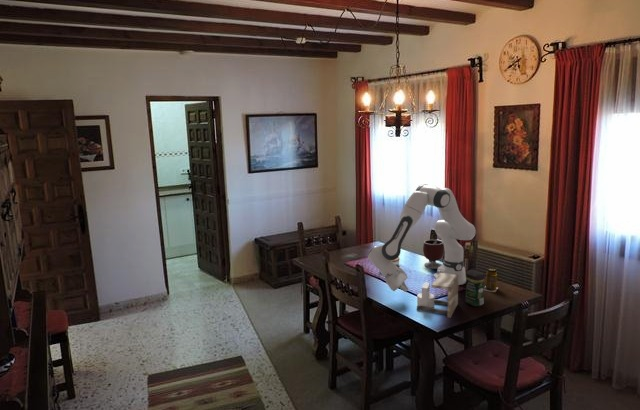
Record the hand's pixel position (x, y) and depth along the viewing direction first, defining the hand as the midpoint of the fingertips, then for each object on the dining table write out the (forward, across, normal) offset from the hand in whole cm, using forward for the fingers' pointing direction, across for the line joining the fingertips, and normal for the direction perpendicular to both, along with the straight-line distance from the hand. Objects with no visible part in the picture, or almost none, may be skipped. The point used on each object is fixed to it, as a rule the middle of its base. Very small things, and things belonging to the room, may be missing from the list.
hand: (406, 290), depth 244 cm
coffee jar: (+29, +14, -19) cm, 37 cm away
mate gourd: (+4, +70, +6) cm, 71 cm away
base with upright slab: (+13, 0, -2) cm, 13 cm away
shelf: (+17, 0, -7) cm, 18 cm away
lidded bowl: (-14, +50, +24) cm, 57 cm away
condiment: (+33, +40, -23) cm, 57 cm away
